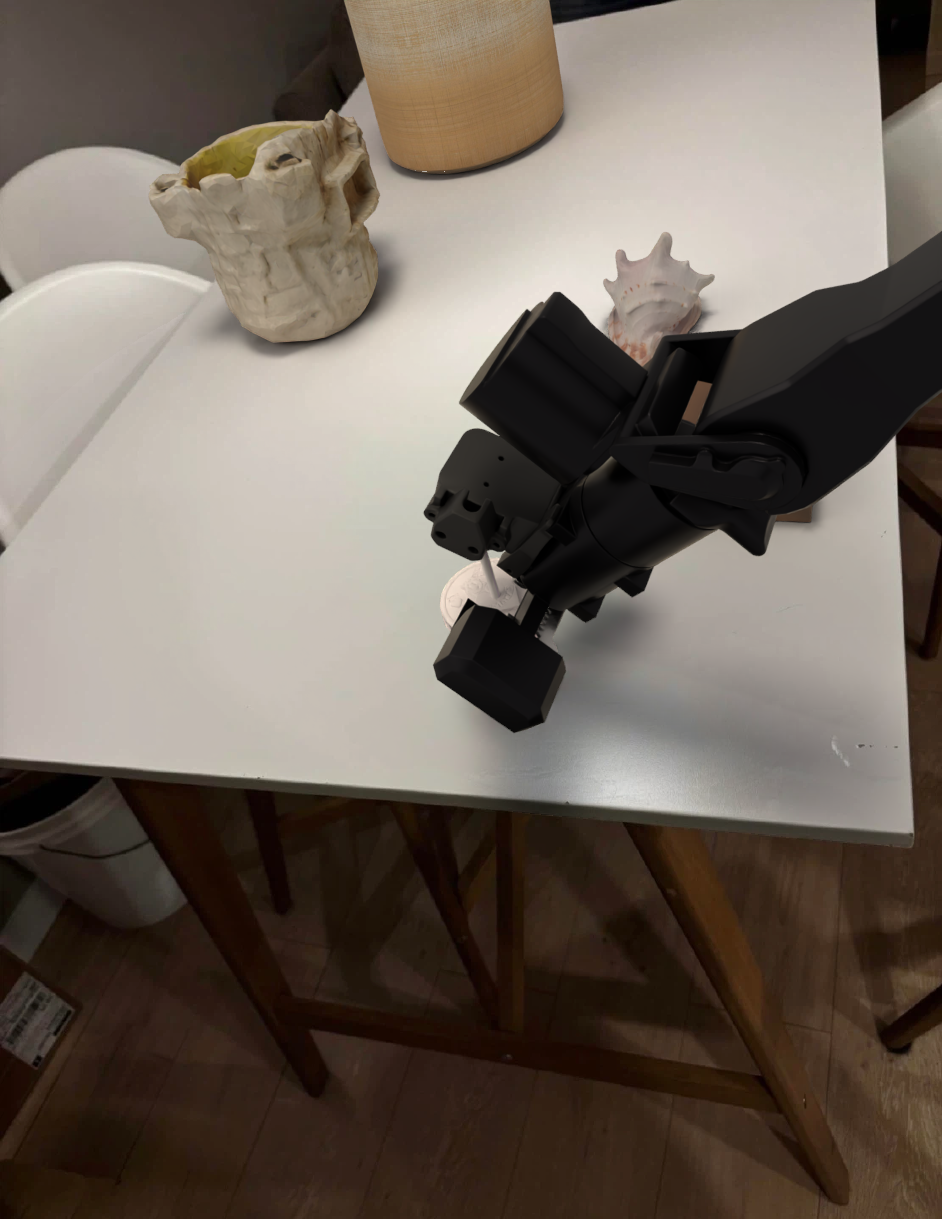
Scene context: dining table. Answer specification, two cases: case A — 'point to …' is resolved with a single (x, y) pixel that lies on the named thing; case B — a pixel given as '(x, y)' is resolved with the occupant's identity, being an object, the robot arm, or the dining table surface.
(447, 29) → the planter
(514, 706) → the robot arm
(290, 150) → the ceramic vessel
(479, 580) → the smoothie
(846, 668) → the dining table surface
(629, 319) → the seashell
